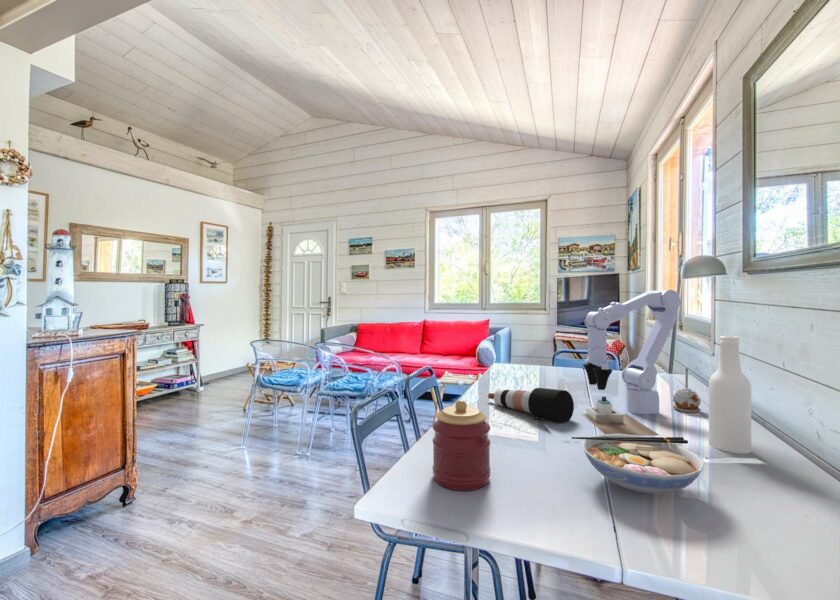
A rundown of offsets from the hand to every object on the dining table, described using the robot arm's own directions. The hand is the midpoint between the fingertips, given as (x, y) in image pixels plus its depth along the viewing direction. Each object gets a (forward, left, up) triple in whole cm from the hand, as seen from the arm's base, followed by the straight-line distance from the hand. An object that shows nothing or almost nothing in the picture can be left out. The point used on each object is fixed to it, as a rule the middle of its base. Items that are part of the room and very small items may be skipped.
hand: (597, 387), depth 134 cm
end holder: (0, +6, -9) cm, 11 cm away
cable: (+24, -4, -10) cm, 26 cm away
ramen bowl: (+10, +50, -10) cm, 52 cm away
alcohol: (-23, +29, -10) cm, 38 cm away
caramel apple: (-34, -8, -10) cm, 36 cm away
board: (-2, +11, -10) cm, 15 cm away
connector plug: (0, +6, -9) cm, 11 cm away
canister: (+48, +48, -10) cm, 69 cm away
